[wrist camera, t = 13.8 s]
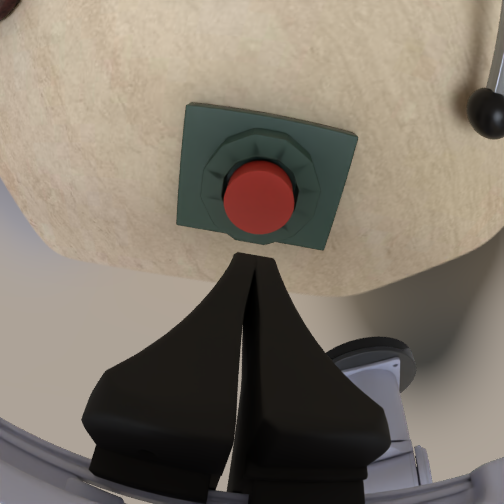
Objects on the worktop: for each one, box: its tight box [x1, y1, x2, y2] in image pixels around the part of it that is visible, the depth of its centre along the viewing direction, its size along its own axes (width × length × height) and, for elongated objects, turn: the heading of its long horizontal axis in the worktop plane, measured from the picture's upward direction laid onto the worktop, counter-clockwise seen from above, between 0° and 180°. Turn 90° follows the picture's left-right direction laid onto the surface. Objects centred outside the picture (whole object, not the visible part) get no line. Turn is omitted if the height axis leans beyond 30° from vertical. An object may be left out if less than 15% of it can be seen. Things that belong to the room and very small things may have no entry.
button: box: [224, 161, 294, 234], centre depth 17 cm, size 4×4×2 cm
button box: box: [176, 103, 358, 250], centre depth 19 cm, size 10×8×3 cm
